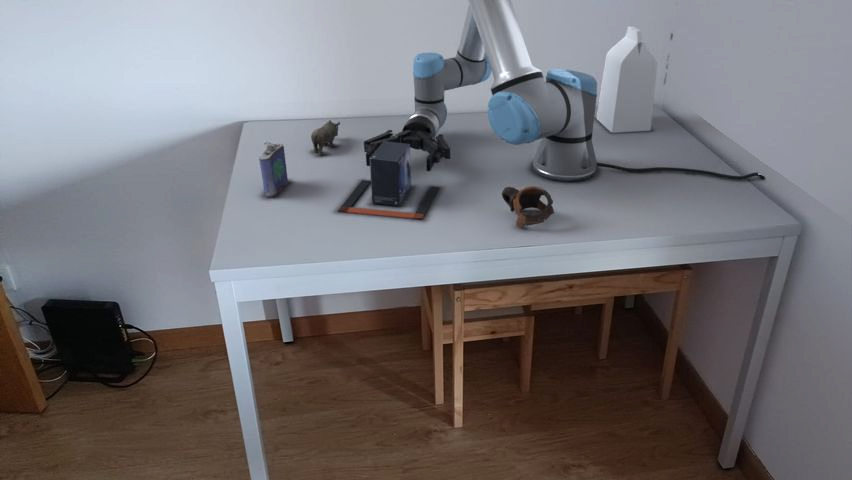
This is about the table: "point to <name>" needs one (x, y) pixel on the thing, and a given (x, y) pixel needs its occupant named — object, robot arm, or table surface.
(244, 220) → the table surface
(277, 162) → the flask
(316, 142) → the rhino figurine
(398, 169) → the small box
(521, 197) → the pottery mug
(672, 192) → the table surface
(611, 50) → the milk
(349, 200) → the bay
